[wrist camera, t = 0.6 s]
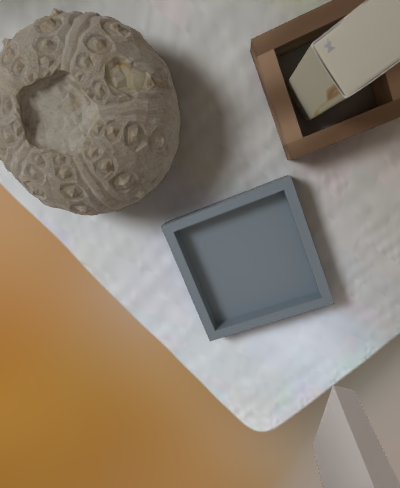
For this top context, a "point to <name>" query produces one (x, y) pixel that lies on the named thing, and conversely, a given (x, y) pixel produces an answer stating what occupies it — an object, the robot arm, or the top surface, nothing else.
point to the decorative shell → (86, 112)
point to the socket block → (264, 55)
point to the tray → (249, 259)
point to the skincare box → (347, 57)
